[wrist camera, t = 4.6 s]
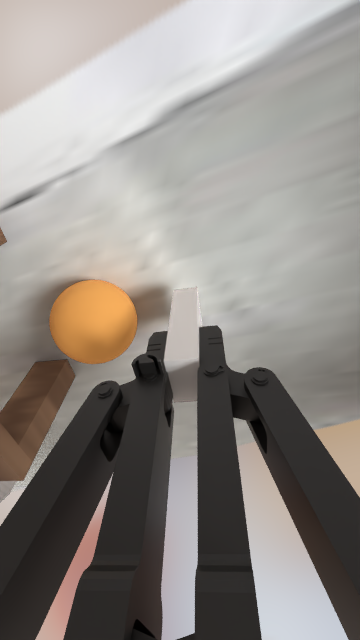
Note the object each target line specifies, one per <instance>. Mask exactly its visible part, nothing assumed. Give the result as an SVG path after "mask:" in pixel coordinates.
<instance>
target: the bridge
mask: <svg viewBox="0 0 360 640" xmlns="http://www.w3.org/2000/svg"><path fill="white" fill-rule="evenodd" d="M6 242H7V240H6V238H5V236H4V234H3V232H2V230H1V228H0V246H1V245H2V244H4V243H6ZM74 378H75V374H74V372H73V370H72V368H71V366H70V364H69V362H68V360H67V359H66V360H55V361H44V362H35V364H34V365H33V367H32V368H31V369H30V371H29V372H28V374H27V375H26V377H25V378H24V379H23V381H22V382H21V384H20V385H19V387H18V388H17V389H16V391H15V392H14V394H13V395H12V397H11V398H10V399H9V401H8V402H7V404H6V405H5V407H4V408H3V410H2V411H1V412H0V481H23V480H24V478H25V476H26V474H27V472H28V470H29V468H30V466H31V464H32V462H33V460H34V458H35V456H36V454H37V452H38V450H39V448H40V446H41V444H42V442H43V440H44V438H45V436H46V434H47V432H48V430H49V428H50V426H51V424H52V422H53V420H54V418H55V416H56V414H57V412H58V410H59V408H60V406H61V404H62V402H63V400H64V398H65V396H66V394H67V392H68V390H69V388H70V386H71V384H72V382H73V380H74Z"/></svg>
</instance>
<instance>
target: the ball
mask: <svg viewBox="0 0 360 640" xmlns="http://www.w3.org/2000/svg"><path fill="white" fill-rule="evenodd" d="M49 326H50V331H51V335H52V338H53V340H54V342H55V343H56V345H57V346H58V348H59V349H60V350H61V351H62V352H63V353H64V354H66V355H67V356H68V357H70V358H72V359H74V360H76V361H79V362H82V363H87V364H99V363H105V362H108V361H111V360H113V359H115V358H117V357H118V356H120V355H121V354H122V353H123V352H124V351H125V350H126V349H127V348H128V347H129V346H130V344H131V343H132V341H133V339H134V337H135V333H136V330H137V314H136V310H135V307H134V305H133V303H132V301H131V299H130V298H129V296H128V295H127V294H126V293H125V292H124V291H123V290H121V289H120V288H119V287H117V286H115V285H114V284H111V283H109V282H106V281H101V280H86V281H81V282H78V283H75V284H73V285H71V286H70V287H68V288H67V289H65V290H64V291H63V292H62V293H61V294H60V295H59V296H58V298H57V299H56V301H55V302H54V304H53V307H52V309H51V313H50V319H49Z"/></svg>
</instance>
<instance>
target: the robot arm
mask: <svg viewBox="0 0 360 640" xmlns="http://www.w3.org/2000/svg"><path fill="white" fill-rule="evenodd" d="M132 367H133V370H134V373H135V376H136V379H135V380H133V381H131V382H129V383H126V384H123V385H120V386H119V384H118V383H117V382H114V381H105V382H102V383H100V384H99V385H97V386H96V387H95V388H94V389H93V390H92V392H91V393H90V394H89V396H88V397H87V399H86V400H85V402H84V403H83V405H82V406H81V408H80V409H79V411H78V412H77V414H76V415H75V417H74V418H73V420H72V421H71V423H70V424H69V425H68V427H67V428H66V430H65V431H64V433H63V434H62V436H61V437H60V439H59V440H58V442H57V443H56V445H55V446H54V448H53V449H52V451H51V452H50V454H49V455H48V457H47V458H46V459H45V461H44V462H43V464H42V465H41V467H40V468H39V470H38V471H37V473H36V474H35V476H34V477H33V479H32V480H31V482H30V483H29V485H28V486H27V488H26V489H25V490H24V492H23V493H22V495H21V496H20V498H19V499H18V501H17V502H16V504H15V505H14V507H13V508H12V510H11V511H10V513H9V514H8V516H7V517H6V519H5V520H4V522H3V523H2V524H1V526H0V640H35V639H36V637H37V635H38V633H39V631H40V629H41V626H42V624H43V622H44V620H45V618H46V615H47V614H48V611H49V609H50V607H51V605H52V603H53V601H54V599H55V596H56V594H57V592H58V590H59V588H60V586H61V583H62V581H63V579H64V577H65V575H66V573H67V571H68V568H69V566H70V564H71V562H72V560H73V558H74V556H75V553H76V551H77V549H78V547H79V545H80V542H81V540H82V538H83V536H84V534H85V532H86V530H87V528H88V525H89V523H90V521H91V519H92V517H93V515H94V512H95V510H96V508H97V506H98V504H99V502H100V500H101V497H102V495H103V493H104V491H105V489H106V487H107V484H108V482H109V480H110V478H111V476H112V474H113V477H112V481H111V486H110V490H109V494H108V498H107V502H106V507H105V511H104V515H103V519H102V524H101V528H100V532H99V536H98V541H97V545H96V549H95V553H94V557H93V560H92V562H91V564H90V566H89V567H88V568H87V569H86V570H85V571H84V572H83V574H82V576H81V578H80V580H79V583H78V586H77V589H76V593H75V597H74V601H73V604H72V609H71V612H70V616H69V620H68V624H67V628H66V632H65V635H64V639H63V640H161V636H162V601H161V581H162V567H163V553H164V539H165V526H166V511H167V499H168V485H169V471H170V458H171V444H172V430H173V417H174V410H173V405H172V399H174V402H188V401H197V429H198V565H197V569H196V577H195V633H194V634H191V635H189V636H186V637H183V638H180V639H177V640H262V639H261V631H260V623H259V616H258V607H257V600H256V592H255V584H254V577H253V570H252V564H251V558H250V549H249V541H248V533H247V525H246V518H245V509H244V501H243V494H242V485H241V477H240V469H239V462H238V454H237V446H236V438H235V430H234V422H233V417H234V418H239V419H243V420H246V421H247V424H248V426H249V428H250V430H251V432H252V434H253V436H254V438H255V441H256V443H257V445H258V447H259V449H260V451H261V453H262V456H263V458H264V460H265V462H266V464H267V466H268V468H269V470H270V473H271V475H272V477H273V479H274V481H275V483H276V485H277V487H278V490H279V492H280V494H281V496H282V498H283V500H284V502H285V505H286V507H287V509H288V511H289V513H290V515H291V517H292V519H293V522H294V524H295V526H296V528H297V530H298V532H299V534H300V536H301V539H302V541H303V543H304V545H305V547H306V549H307V551H308V554H309V556H310V558H311V560H312V562H313V564H314V566H315V569H316V571H317V573H318V575H319V577H320V579H321V581H322V584H323V586H324V588H325V590H326V592H327V594H328V596H329V598H330V600H331V603H332V604H333V607H334V609H335V611H336V613H337V616H338V617H339V620H340V622H341V624H342V626H343V628H344V630H345V633H346V635H347V637H348V639H349V640H360V497H359V496H358V495H357V493H356V492H355V490H354V489H353V487H352V486H351V484H350V483H349V481H348V480H347V479H346V477H345V476H344V474H343V473H342V471H341V470H340V468H339V467H338V465H337V464H336V463H335V461H334V460H333V458H332V457H331V455H330V454H329V452H328V451H327V449H326V448H325V447H324V445H323V444H322V442H321V441H320V439H319V438H318V436H317V435H316V434H315V432H314V431H313V429H312V428H311V426H310V425H309V423H308V422H307V420H306V419H305V417H304V416H303V415H302V413H301V412H300V410H299V409H298V407H297V406H296V404H295V403H294V401H293V400H292V399H291V397H290V396H289V394H288V393H287V391H286V390H285V388H284V387H283V385H282V384H281V383H280V381H279V380H278V378H277V377H276V375H275V374H274V373H273V372H272V371H270V370H268V369H266V368H260V367H259V368H253V369H250V370H248V371H247V372H246V373H245V374H243V373H238V372H235V371H233V370H231V369H230V368H229V367H228V366H227V365H226V361H225V353H224V346H223V338H222V331H221V329H220V328H219V327H218V326H217V325H216V326H207V327H202V318H201V311H200V304H199V297H198V290H197V287H194V288H186V289H178V290H173V297H172V304H171V311H170V319H169V326H168V331H164V332H155V333H153V335H152V336H151V337H150V338H149V342H148V347H147V351H146V354H142V355H140V356H138V357H137V358H135V359H134V360H133V362H132ZM113 472H114V473H113Z"/></svg>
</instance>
